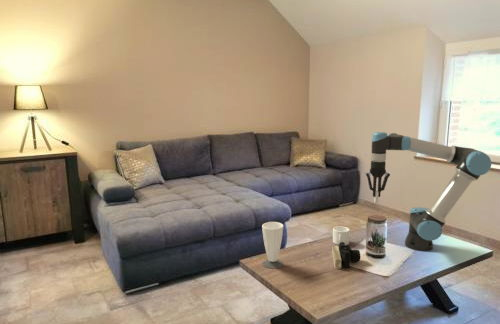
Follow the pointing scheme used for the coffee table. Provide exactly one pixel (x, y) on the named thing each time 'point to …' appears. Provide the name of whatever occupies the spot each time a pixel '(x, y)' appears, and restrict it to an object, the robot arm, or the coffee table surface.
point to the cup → (272, 243)
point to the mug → (341, 235)
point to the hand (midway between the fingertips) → (376, 202)
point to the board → (336, 257)
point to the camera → (348, 255)
